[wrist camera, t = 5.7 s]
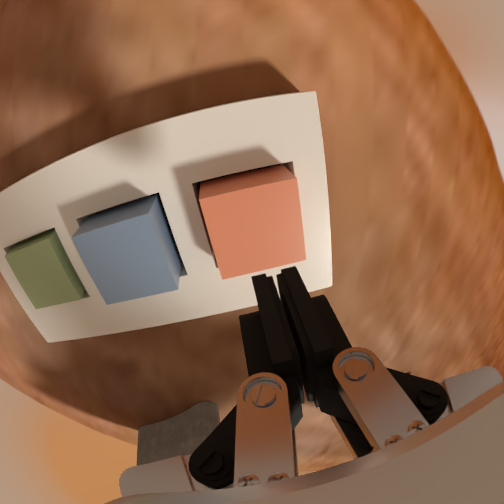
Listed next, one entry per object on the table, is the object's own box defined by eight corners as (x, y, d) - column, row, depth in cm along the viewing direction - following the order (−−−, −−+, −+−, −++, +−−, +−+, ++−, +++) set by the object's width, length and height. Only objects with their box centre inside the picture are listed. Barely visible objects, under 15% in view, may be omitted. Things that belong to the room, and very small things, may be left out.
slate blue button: (157, 194, 17) (148, 213, 14) (181, 262, 20) (178, 289, 17) (88, 216, 17) (71, 237, 14) (117, 278, 20) (106, 304, 17)
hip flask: (206, 398, 32) (222, 548, 15) (227, 408, 34) (247, 546, 17) (135, 428, 36) (132, 541, 18) (155, 436, 37) (157, 544, 20)
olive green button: (66, 219, 18) (48, 238, 15) (92, 275, 21) (80, 299, 18) (22, 236, 18) (4, 256, 15) (49, 286, 21) (35, 309, 18)
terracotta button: (282, 164, 17) (296, 177, 15) (292, 236, 20) (306, 259, 17) (200, 182, 17) (199, 199, 14) (219, 253, 20) (222, 279, 17)
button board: (299, 91, 17) (315, 91, 14) (319, 264, 24) (332, 285, 21) (-9, 196, 16) (-29, 211, 13) (57, 321, 23) (47, 342, 21)
